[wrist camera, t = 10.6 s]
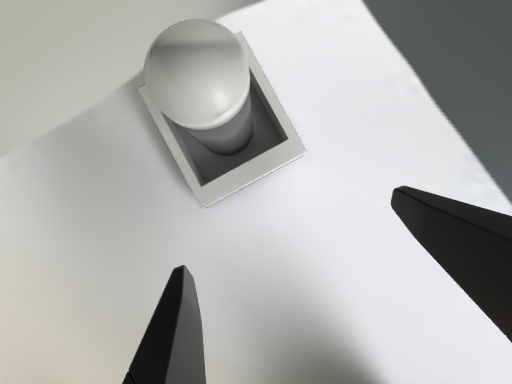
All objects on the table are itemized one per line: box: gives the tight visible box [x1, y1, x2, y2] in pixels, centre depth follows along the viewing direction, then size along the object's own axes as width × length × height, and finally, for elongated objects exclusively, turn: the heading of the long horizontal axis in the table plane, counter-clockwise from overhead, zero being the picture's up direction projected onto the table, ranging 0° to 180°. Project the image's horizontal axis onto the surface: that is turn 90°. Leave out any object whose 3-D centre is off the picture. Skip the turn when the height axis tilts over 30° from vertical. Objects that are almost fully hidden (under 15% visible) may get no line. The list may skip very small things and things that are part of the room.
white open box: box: [138, 31, 307, 208], centre depth 21 cm, size 11×10×4 cm
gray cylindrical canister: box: [144, 19, 253, 156], centre depth 17 cm, size 5×5×10 cm
